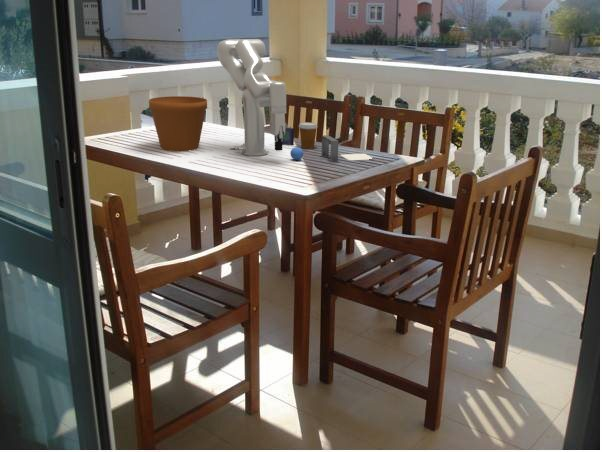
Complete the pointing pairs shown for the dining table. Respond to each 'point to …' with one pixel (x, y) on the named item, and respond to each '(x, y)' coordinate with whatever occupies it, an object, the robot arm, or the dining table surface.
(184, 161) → the dining table surface
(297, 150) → the ball
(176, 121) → the flowerpot
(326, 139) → the bridge
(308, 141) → the disposable coffee cup
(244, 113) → the robot arm
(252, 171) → the dining table surface
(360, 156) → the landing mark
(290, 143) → the flask
